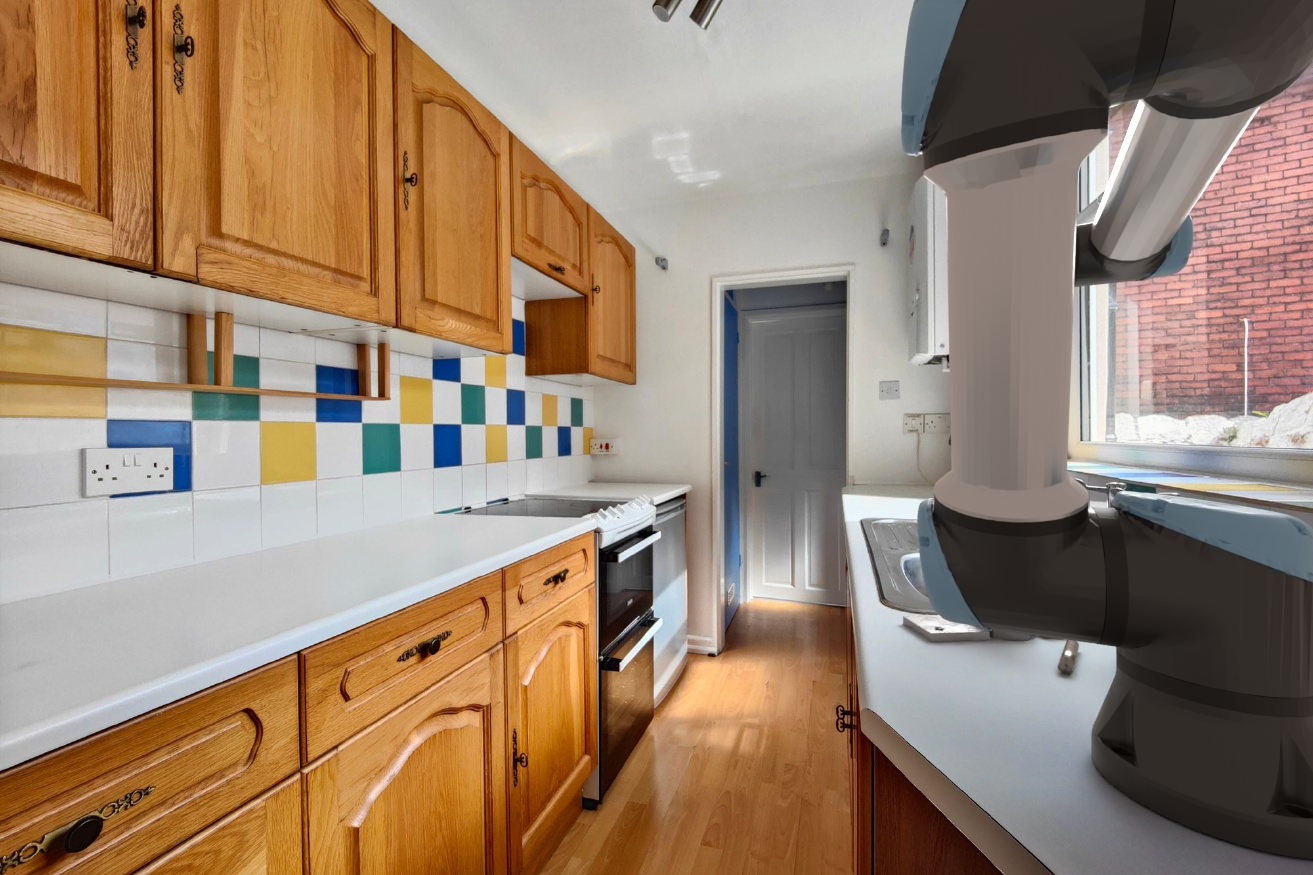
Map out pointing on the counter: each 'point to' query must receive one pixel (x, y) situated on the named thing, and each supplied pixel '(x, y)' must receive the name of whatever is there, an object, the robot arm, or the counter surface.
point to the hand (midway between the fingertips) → (998, 495)
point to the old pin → (1068, 657)
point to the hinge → (956, 630)
